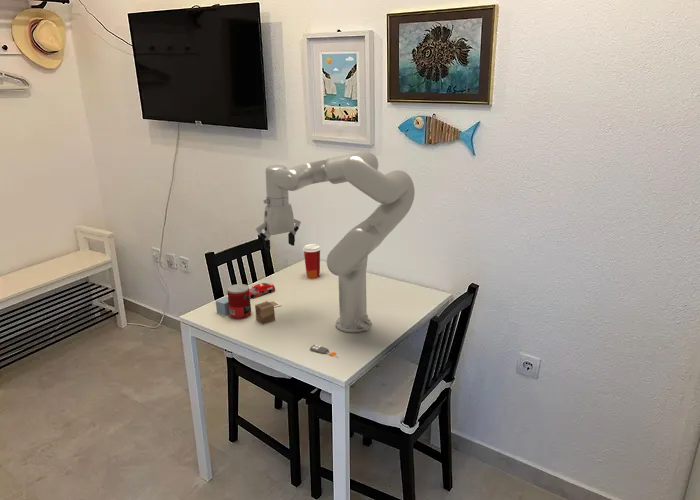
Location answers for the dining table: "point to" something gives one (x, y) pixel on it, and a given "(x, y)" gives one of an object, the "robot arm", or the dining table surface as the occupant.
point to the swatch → (275, 303)
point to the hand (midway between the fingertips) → (279, 247)
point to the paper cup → (312, 260)
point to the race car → (261, 289)
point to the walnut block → (265, 312)
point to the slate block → (223, 306)
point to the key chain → (322, 350)
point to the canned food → (239, 301)
